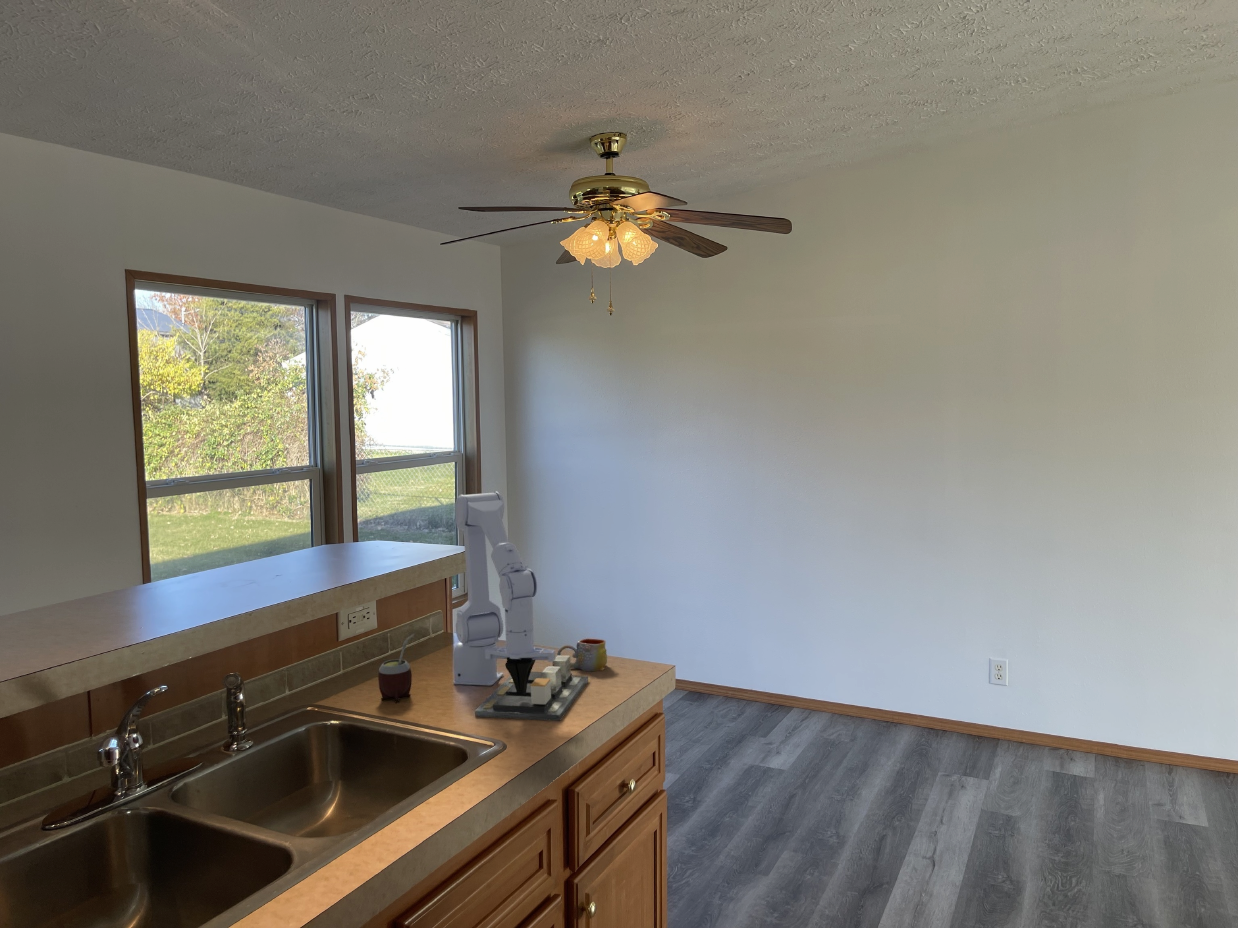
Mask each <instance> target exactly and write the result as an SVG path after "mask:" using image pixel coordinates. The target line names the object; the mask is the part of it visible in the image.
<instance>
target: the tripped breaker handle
mask: <svg viewBox="0 0 1238 928" xmlns="http://www.w3.org/2000/svg"><path fill="white" fill-rule="evenodd" d="M550 698H551V682H550V679H544V678H536V679H535V680H534V682H533V683H532V684H531V704H546V703H547V702H548V701H549V699H550Z"/></svg>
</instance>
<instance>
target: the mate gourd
mask: <svg viewBox="0 0 1238 928" xmlns="http://www.w3.org/2000/svg"><path fill="white" fill-rule="evenodd" d="M415 635H416V633H415V632H414V633H412V634H411V635H409V637H407V638H406V639H405V640H404V641H403V644H402V645H401V646H402V647H401V648H402V649H401V652H400V656H399V658H397V659H389V660H386V661H384V662H383V663H382V664H381V665H380V667H379V668H378V674H377V678H378V687H379V688H378V689H379V692H380V694H381V697H380V699H381V700H380V701H381V702H384V701H385V702H386V701H393V700H394V704H399V703H400V699H405V698H411V697H412V695H411V688H412V683H413V682H412V678H413V675H412V674H413V673H412V669H411V666H410V663H409V662H408V661H407V660H406V659H403V656H404V653H405V649H406V647H407V645H408V642H409V641H410V639H412V638H413V637H414V636H415Z"/></svg>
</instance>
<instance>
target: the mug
mask: <svg viewBox="0 0 1238 928" xmlns="http://www.w3.org/2000/svg"><path fill="white" fill-rule="evenodd" d="M565 649H570V650H571V651H573V652H574V653H573V654H572V655H571V657H572V658H573V659H576V660H575V661H574V662H570V667H571V669H577V670H578V669H579V670H582V671H585V672H596V671H604V670H605V667H606V665H607V663H608V654H607V648H606V639H605V640H604V639H599V638H597V639H596V638H584V639H583V638H582V639H581V640H579V641H577V643H576V647H574V646H573V645H570V644H567V645H566V644H565V645H563V646H561V647H560V648H559V649H558V651H557V653H556V656H557V655H561V654H562V651H563V650H565ZM561 656H562V655H561Z"/></svg>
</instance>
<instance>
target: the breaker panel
mask: <svg viewBox="0 0 1238 928" xmlns="http://www.w3.org/2000/svg"><path fill="white" fill-rule="evenodd" d="M555 657H556V659H555V660H554V661H553V662H552V666H550V665H549V666H546V667H545V668H544V669H543V670H542V671H531V673H530V676H529V679H528V683H527V690H526V693H525V694H524V695H517V692H516V688H515V685H514V682H513V679H512V677H511V675H509V676H508V677H507V679H506V680H505V681H503V682H502V684H500V685H499V687H497V688H496V689H495V691H493V692H492V693H491V694H490V695H489V697H487V698H486V699H485V700H484V701H483V702H482V703H481V704H480V705H479V706H478V707H477V708H476V709H475V710H474V717H475V718H476V717H477V718H478V717H479V718H493V719H494V718H495V719H496V718H500V719H515V720H516V719H518V720H531V721H532V720H533V721H534V720H535V721H536V720H537V721H553V722H560V721H561V720H562V718H563V717H564V716H565V714H566V713H567V711H568V710H569V709H570V708H571V706H572V705H573V703H574V702H575V700H576V699H577V698H578V696H579V695H580V693H581V692H582V691H583V689H584V688H585V687H584V686H587V684H588V682H589V676H586V675H585V676H584V675H583V676H582V675H572V672H571V671H572V670H571V669H572V668H571V667H570V663H571V656H570V655H557V654H556V655H555ZM536 678H544V679H550V682H551V698H550V699H549V701H548V702H547V703H546V704H531V684H532V683H533V682H534V680H535V679H536ZM563 715H564V716H563Z"/></svg>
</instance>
